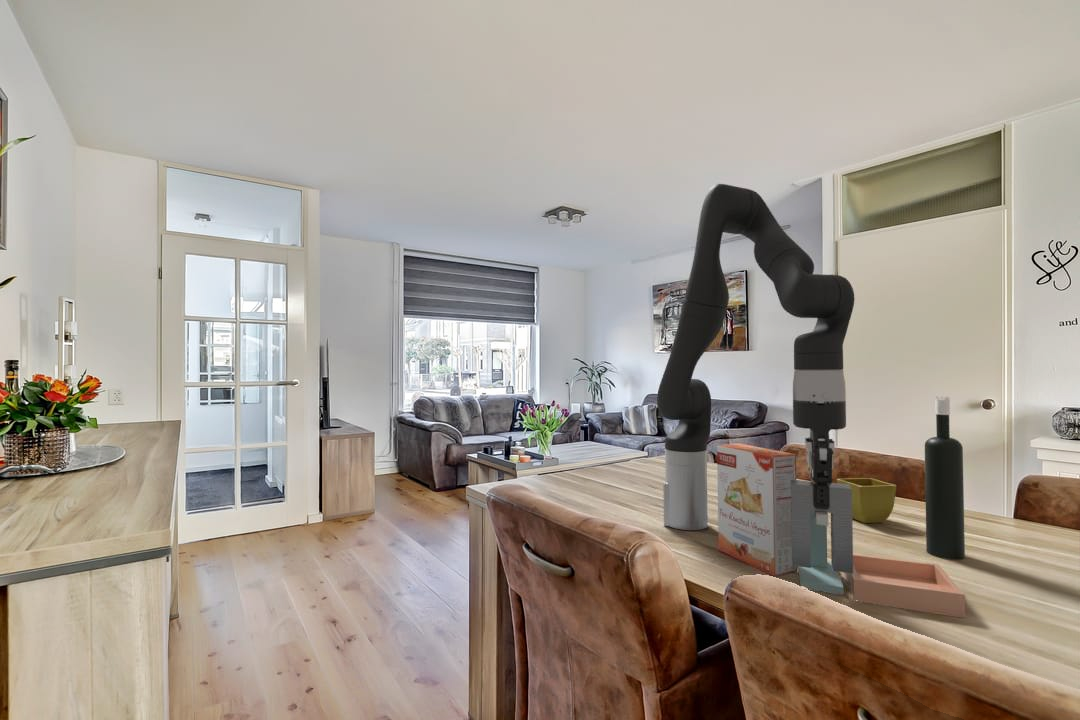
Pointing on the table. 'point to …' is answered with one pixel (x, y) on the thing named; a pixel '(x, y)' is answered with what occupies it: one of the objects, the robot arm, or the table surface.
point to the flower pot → (871, 499)
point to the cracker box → (756, 506)
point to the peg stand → (820, 559)
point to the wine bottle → (944, 489)
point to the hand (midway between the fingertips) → (820, 504)
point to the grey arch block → (839, 524)
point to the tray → (905, 585)
